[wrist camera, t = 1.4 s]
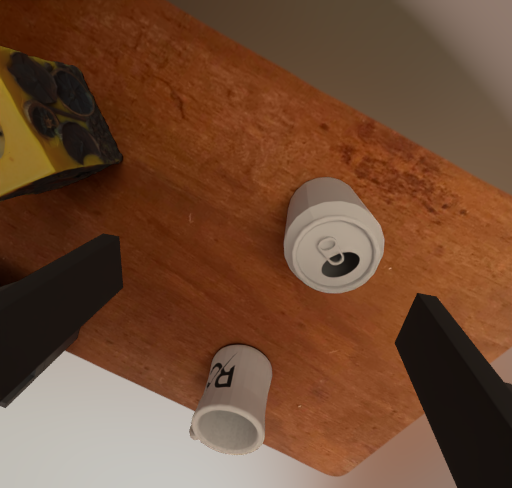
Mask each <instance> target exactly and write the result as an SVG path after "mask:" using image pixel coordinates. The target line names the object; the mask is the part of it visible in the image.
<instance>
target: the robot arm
mask: <svg viewBox="0 0 512 488" xmlns="http://www.w3.org/2000/svg"><path fill="white" fill-rule="evenodd" d="M122 288H123V279H122V267H121V254H120V241H119V236H114V235H108V234H101V235H100V236H98V237H96V238H94V239H93V240H91V241H89V242H87V243H85V244H84V245H82V246H80V247H78V248H77V249H75V250H73V251H71V252H69V253H68V254H66V255H64V256H62V257H60V258H59V259H57V260H55V261H53V262H52V263H50V264H48V265H46V266H44V267H43V268H41V269H39V270H37V271H36V272H34V273H32V274H30V275H28V276H27V277H25V278H23V279H21V280H19V281H18V282H14V283H11V284H8V285H5V286H2V287H0V402H1V401H2V400H3V399H4V398H5V397H6V396H7V395H8V394H9V393H10V392H11V391H13V390H14V389H15V388H16V387H17V386H18V385H19V384H20V383H21V382H22V381H23V380H24V379H25V378H26V377H28V376H29V375H30V374H31V373H32V372H33V371H34V370H35V369H36V368H37V367H38V366H39V365H40V364H42V363H43V362H44V361H45V360H46V359H47V358H48V357H49V356H50V355H51V354H52V353H53V352H54V351H56V350H57V349H58V348H59V347H60V346H61V345H62V344H63V343H64V342H65V341H66V340H67V339H68V338H69V337H71V336H72V335H73V334H74V333H75V332H76V331H77V330H78V329H79V328H80V327H81V326H82V325H83V324H85V323H86V322H87V321H88V320H89V319H90V318H91V317H92V316H93V315H94V314H95V313H96V312H97V311H98V310H100V309H101V308H102V307H103V306H104V305H105V304H106V303H107V302H108V301H109V300H110V299H111V298H112V297H114V296H115V295H116V294H117V293H118V292H119V291H120V290H121V289H122ZM395 345H396V347H397V350H398V352H399V354H400V356H401V359H402V361H403V363H404V366H405V368H406V370H407V373H408V375H409V377H410V380H411V382H412V384H413V387H414V389H415V391H416V393H417V396H418V398H419V400H420V403H421V405H422V407H423V410H424V412H425V414H426V416H427V419H428V421H429V424H430V426H431V428H432V430H433V433H434V435H435V437H436V439H437V442H438V444H439V446H440V449H441V451H442V454H443V456H444V458H445V460H446V463H447V465H448V467H449V470H450V472H451V474H452V476H453V479H454V481H455V483H456V486H457V488H512V385H511V384H509V383H505V382H503V380H502V379H501V378H500V377H499V375H498V374H497V373H496V372H495V370H494V369H493V368H492V367H491V365H490V364H489V363H488V361H487V360H486V359H485V358H484V356H483V355H482V354H481V353H480V351H479V350H478V349H477V348H476V346H475V345H474V344H473V342H472V341H471V340H470V339H469V337H468V336H467V335H466V334H465V332H464V331H463V330H462V328H461V327H460V326H459V325H458V323H457V322H456V321H455V320H454V318H453V317H452V316H451V315H450V313H449V312H448V311H447V309H446V308H445V307H444V306H443V304H442V303H441V302H440V301H439V299H438V298H437V297H436V296H431V295H425V294H420V293H417V295H416V297H415V299H414V301H413V304H412V306H411V308H410V310H409V312H408V315H407V317H406V319H405V321H404V323H403V326H402V328H401V330H400V332H399V334H398V337H397V339H396V341H395Z"/></svg>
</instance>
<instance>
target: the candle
mask: <svg viewBox="0 0 512 488" xmlns="http://www.w3.org/2000/svg"><path fill="white" fill-rule="evenodd" d="M120 161H122V154H121V153H120V152H119V151H118V148H117V146H116V142H115V141H114V139H113V138H112V136H111V134H110V132H109V130H108V125H107V124H106V122H105V120H104V118H103V117H102V115H101V113H100V111H99V109H98V107H97V105H96V103H95V101H94V98H93V95H92V94H91V93H90V91H89V90H88V87H87V85H86V82H85V80H84V78H83V75H82V72H81V71H80V70H79V69H78V68H77V67H75V66H73V65H66V64H64V63H61V62H55V61H54V62H50V61H46V60H43V59H40V58H37V57H32V56H28V55H26V54H24V53H21V52H19V51H16V50H13V49H9V48H6V47H2V46H0V202H1V201H4V200H6V199H10V198H13V197H17V196H21V195H29V194H39V193H42V192H45V191H49V190H53V189H58V188H62V187H63V186H67V185H69V184H71V183H74V182H77V181H79V180H81V179H83V178H86V177H89V176H90V175H91V174H96V173H97V172H99V171H101V170H102V169H104V168H106V167H108V166H110V165H112V164H119V163H120Z"/></svg>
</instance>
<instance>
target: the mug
mask: <svg viewBox="0 0 512 488" xmlns="http://www.w3.org/2000/svg"><path fill="white" fill-rule="evenodd" d="M271 379H272V367H271V364H270V362H269V360H268V359H267V358H266V356H265V355H263V354H262V353H261V352H260V351H258V350H257V349H255V348H253V347H250V346H246V345H230V346H227V347H224V348H222V349H221V350H219V351H218V352H217V353H216V355H215V357H214V358H213V360H212V364H211V369H210V374H209V378H208V381H207V384H206V387H205V391H204V394H203V396H202V398H201V400H200V401H199V404H198V407H197V409H196V411H195V413H194V415H193V418H192V423H191V424H192V425H191V427H190V431H189V432H190V436H191V438H192V439H193V440H198V439H199V440H200V441H201V442H202V443H203V444H205V445H206V446H208V447H209V448H211V449H213V450H216V451H218V452H221V453H225V454H231V455H243V454H248V453H251V452H253V451H255V450H257V449H258V448H259V447H260V446H261V445H262V444H263V441H264V438H265V409H266V402H267V395H268V391H269V387H270V383H271Z"/></svg>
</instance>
